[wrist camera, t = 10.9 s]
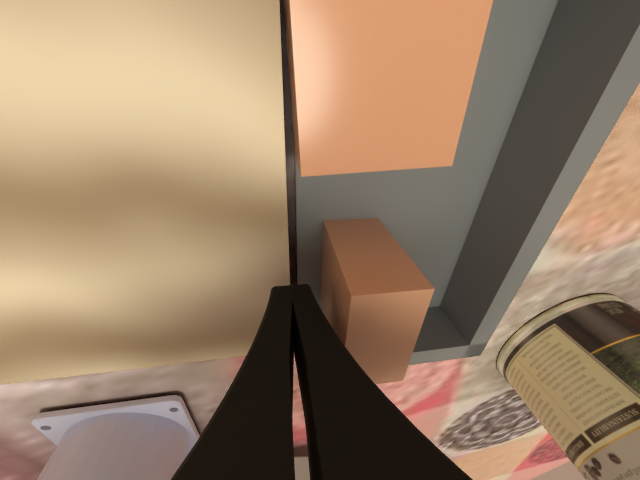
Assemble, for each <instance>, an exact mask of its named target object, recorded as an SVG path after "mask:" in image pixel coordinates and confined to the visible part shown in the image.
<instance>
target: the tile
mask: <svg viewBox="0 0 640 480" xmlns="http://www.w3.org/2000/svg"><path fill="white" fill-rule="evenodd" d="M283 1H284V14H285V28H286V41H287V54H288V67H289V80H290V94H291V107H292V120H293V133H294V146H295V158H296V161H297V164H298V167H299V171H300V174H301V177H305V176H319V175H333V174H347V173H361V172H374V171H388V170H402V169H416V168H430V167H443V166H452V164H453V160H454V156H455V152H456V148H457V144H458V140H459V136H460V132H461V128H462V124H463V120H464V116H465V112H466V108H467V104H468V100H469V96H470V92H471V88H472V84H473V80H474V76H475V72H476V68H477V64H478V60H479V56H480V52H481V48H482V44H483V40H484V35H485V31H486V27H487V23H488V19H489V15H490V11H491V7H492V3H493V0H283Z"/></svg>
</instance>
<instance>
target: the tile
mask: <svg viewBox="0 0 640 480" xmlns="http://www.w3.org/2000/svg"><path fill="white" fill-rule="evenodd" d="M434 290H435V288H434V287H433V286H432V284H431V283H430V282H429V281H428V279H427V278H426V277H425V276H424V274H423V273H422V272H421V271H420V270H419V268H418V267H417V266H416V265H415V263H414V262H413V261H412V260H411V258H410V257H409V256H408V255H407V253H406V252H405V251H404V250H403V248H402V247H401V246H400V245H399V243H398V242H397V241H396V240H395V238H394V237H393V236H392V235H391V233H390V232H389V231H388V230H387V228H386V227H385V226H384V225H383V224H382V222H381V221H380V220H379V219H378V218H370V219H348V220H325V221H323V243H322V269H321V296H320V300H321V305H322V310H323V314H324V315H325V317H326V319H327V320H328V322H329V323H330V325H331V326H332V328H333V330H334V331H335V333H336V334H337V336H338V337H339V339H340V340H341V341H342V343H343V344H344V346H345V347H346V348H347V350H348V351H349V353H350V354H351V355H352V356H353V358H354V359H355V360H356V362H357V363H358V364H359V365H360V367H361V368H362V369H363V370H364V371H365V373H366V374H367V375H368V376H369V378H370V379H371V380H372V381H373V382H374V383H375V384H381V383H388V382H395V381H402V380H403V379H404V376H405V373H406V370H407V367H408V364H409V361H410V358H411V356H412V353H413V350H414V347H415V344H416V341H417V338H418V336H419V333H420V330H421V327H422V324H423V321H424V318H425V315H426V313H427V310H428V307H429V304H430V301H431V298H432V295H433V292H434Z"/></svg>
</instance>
